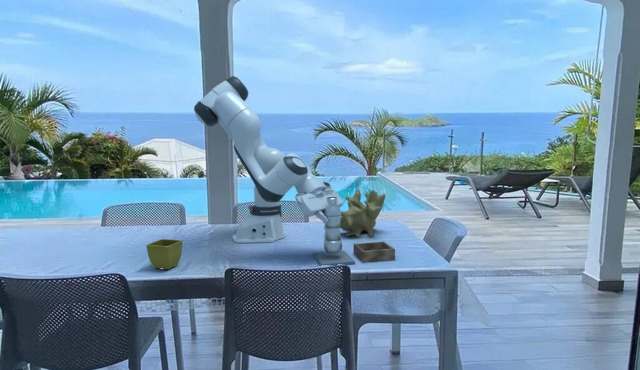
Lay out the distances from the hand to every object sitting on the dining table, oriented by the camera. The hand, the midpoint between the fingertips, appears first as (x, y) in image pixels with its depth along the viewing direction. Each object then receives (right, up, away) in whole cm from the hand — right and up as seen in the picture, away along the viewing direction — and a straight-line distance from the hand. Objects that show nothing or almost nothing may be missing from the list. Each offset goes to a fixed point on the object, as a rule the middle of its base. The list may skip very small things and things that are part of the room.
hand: (333, 220), depth 156 cm
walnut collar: (+15, -14, +5) cm, 21 cm away
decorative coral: (+11, -9, +39) cm, 41 cm away
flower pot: (-58, -16, -4) cm, 60 cm away
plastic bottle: (0, -12, +2) cm, 12 cm away
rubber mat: (0, -14, +2) cm, 15 cm away
